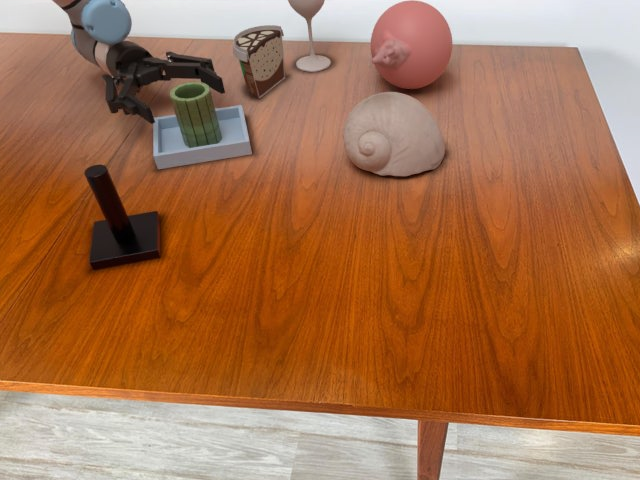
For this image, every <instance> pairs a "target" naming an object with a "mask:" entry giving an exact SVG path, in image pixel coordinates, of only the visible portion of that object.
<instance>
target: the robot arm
mask: <svg viewBox="0 0 640 480" xmlns="http://www.w3.org/2000/svg"><path fill="white" fill-rule="evenodd" d="M51 1H52V2H53V3H55V4H56V5H57V6H58V7H59V8H60V9H61V10H62V11H63V12H64V13H66V15H67V16H68V18H69V22H70V25H71V31H70V41H71V43H72V46H73V48H74V49H75V51H77V52H78V53H79V55H80V56H82V58H83V59H85V61H87V62H89V63H90V64H91V63H92V64H93V65H95V66H96V67H97V68H99V69H101V70H103V72H104V73H105V74H102V75H101V78H102V81H103V82H104V85H105V101H106V103H107V106H108V109H109V112H110V113H111V114H117V113H119V111H120V110H122V112H123V114H124V115H125V116H129V115H132V116H136V115H137V116H139V117H140V118H142V119H143V120H144V121H146V122H147V123H149V124H150V125H153V123H155V120H154V118H155V117H154V114H153V111H152V108H151V107H150V106H149V105H147V104H146V103H145V102H143V101H142V100H140V99H139V98H138V97H137V94H138V93H140V92H141V90H142V88H143V87H144V86H148V85H151V84H152V83H156V82H159V81H160V82H162V81H163V82H170V81H171V80H172V79H183V80H184V79H185V80H186V79H187V80H188V79H189V80H190V79H191V80H200V82H203V83H205V84H207V85H209V87H210V89H212V90H214V91H215V92H217V93H219V94H220V95H223V94H225V93H226V90H225V86H224V81H223V78H222V77H221V76H219V75H218V74H217V72H216V71H215V67H214V63H213V60H212V58H206V57H200V56H192V55H188V54H187V55H185V54H179V53H176V52H173V51H166V52H165V57H164V58H159V57H154V56H153V55H152V53H150V52H149V51H148V50H147V49H146V48H144V47H143V46H141V45H140V44H138V43H136V42H135V41H134V40H131V39H129V38H128V36H129V35H130V33H131V31H132V27H133V26H132V25H133V22H132V21H133V20H132V16H131V14H130V11H129V10H128V8H127V6H126V5H125V3H124V2H123V1H122V0H51ZM120 84H122V86H121V89H120V88H119V86H120ZM118 90H120V91H118Z"/></svg>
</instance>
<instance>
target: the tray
mask: <svg viewBox="0 0 640 480" xmlns="http://www.w3.org/2000/svg"><path fill="white" fill-rule="evenodd" d="M215 110H216V114H217V118H218V122H219V126H220V130H221V135H222V140H221V141H220V142H219V143H218V144H212V145H206V146H199V147H193V148H189V147H187V146H186V145H185V144H184V141H183V137H182V134H181V131H180V127H179V124H178V121H177V118H176V114H171V115H164V116H157V117H154V120H155V123H153V124H152V125H153V126H152V127H153V129H152V130H153V133H152V135H153V136H152V141H153V142H152V145H153V146H152V148H153V149H152V157H153V160H154V162H155V163H154V164H155V166H156V168H157V170H164V169H171V168H177V167H184V166H188V165H195V164H201V163H207V162H213V161H218V160H225V159H233V158H237V157H243V156H250V155H253V150H252V146H251V142H250V136H249V131H248V126H247V122H246V117H245V113H244V107H243V105H242V104H239V105H231V106H225V107H219V108H217V107H216V108H215Z"/></svg>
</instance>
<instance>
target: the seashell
mask: <svg viewBox="0 0 640 480" xmlns="http://www.w3.org/2000/svg"><path fill="white" fill-rule="evenodd" d="M342 133H343V134H342V140H343V147H344V151H345V153H346V155H347V157H348V158H349V160H350V161H351V162H352V163H353V165H355V166H356V167H357V168H358V169H361V170H363V171H367V172H371V173H373V174H375V175H379V176H393V177H408V176H409V177H410V176H411V175H415V174H420V173H423V172H426V171H431V170H436V169H437V168H438V167H440V165H441V163H442V161H443V159H444V157H445V154H446V147H445V141H444V140H445V139H444V136H443V132H442V129H441V127H440V125H439V123H438V121H437V119H436V118H435V116H434V115H433V114H432V113H431V111H430V110H429V109H428V108H427V107H426V106H425V105H424V104H423V103H422V102H420V101H419V100H418V99H416V98H415V97H414V96H413V97H412V96H410V95H408V94H406V93H401V92H399V91H384V92H379V93H374V94H372V95H369V96H367V97H366V98H363V100H360V102H359V103H357V104H356V105H355V106H354V107H353V108H352V110H351V111H350V113H349V114H348V116H347V118H346V121H345V123H344V126H343V132H342Z"/></svg>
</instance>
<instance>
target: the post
mask: <svg viewBox="0 0 640 480" xmlns="http://www.w3.org/2000/svg"><path fill="white" fill-rule="evenodd" d="M83 173H84V177H85V178H86V181H87V183H88V185H89V187H90V190H91V191H92V194H93V196H94V198H95V200H96V203H97V204H98V207H99V209H100V210H101V213H102V215H103V217H104V219H100V220H96V221H93V227H92V233H91V234H92V235H91V242H90V253H89V262H88V263H89V265H90V267H91V269H92V270H93V271H95V270H101V269H106V268H112V267H116V266H122V265H129V264H133V263H139V262H144V261H148V260H154V259H160V258H161V217H160V214H159V211H158V210H153V211H147V212H141V213H136V214H130V215H128V212H127V211H126V208H125V206H124V203H123V201H122V199H121V197H120V195H119V192H118V191H117V190H118V189H117V188H116V186H115V182H114V181H113V178H112V176H111V174H110V172H109V169H108V167H107V165H104V164H93V165H91V166H89V167H87V168H86V169H85V170H84V172H83Z"/></svg>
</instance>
